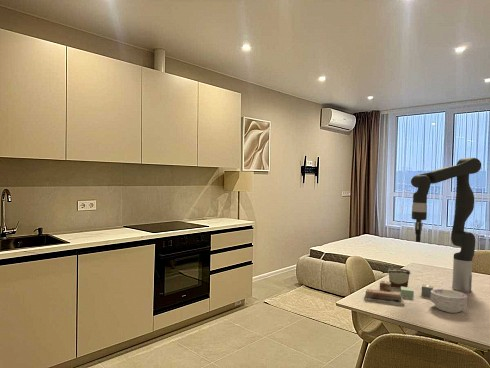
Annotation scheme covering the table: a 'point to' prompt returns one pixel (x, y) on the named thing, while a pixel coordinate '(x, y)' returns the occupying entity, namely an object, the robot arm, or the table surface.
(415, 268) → the table surface
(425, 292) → the charcoal striped block
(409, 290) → the plain sage block
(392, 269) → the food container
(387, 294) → the packaged product
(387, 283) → the walnut striped block
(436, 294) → the paper bowls
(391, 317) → the table surface
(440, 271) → the table surface
